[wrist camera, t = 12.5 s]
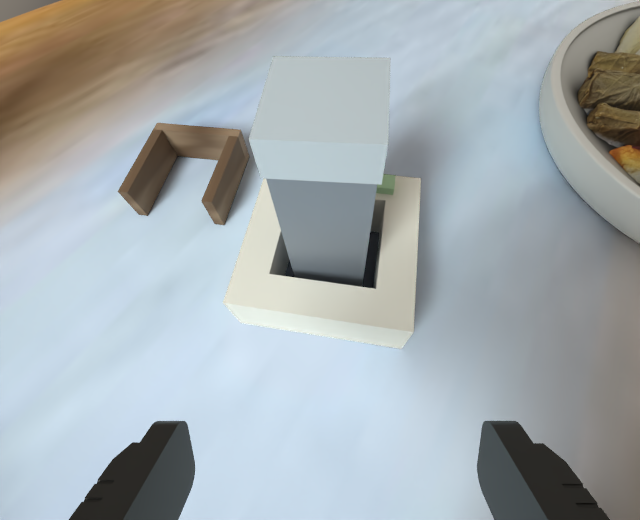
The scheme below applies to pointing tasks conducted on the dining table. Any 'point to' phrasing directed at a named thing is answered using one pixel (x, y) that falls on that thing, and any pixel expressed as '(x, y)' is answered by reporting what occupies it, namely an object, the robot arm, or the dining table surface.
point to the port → (325, 297)
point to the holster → (195, 144)
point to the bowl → (598, 114)
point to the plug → (324, 158)
